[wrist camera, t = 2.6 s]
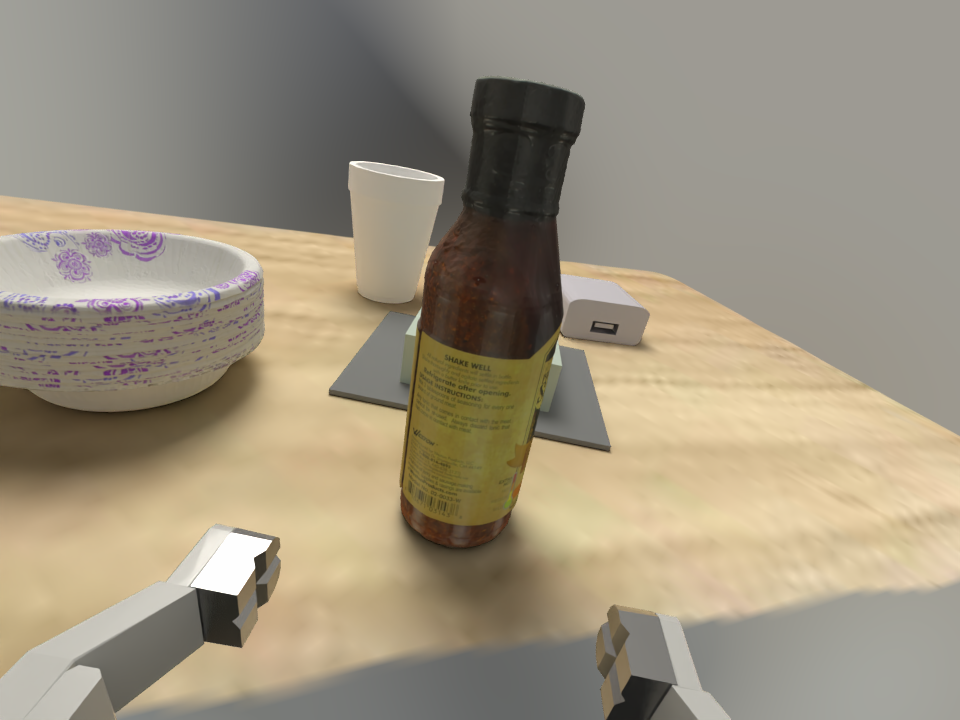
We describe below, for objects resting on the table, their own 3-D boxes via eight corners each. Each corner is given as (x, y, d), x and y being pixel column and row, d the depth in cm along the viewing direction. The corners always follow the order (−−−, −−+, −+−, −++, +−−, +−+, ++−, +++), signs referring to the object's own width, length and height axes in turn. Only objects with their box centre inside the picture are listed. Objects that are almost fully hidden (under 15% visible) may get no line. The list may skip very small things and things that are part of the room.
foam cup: (330, 297, 47) (335, 164, 42) (357, 273, 56) (364, 159, 50) (420, 315, 48) (437, 184, 42) (433, 288, 56) (449, 176, 50)
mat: (328, 393, 32) (329, 389, 32) (389, 314, 46) (390, 311, 46) (608, 450, 32) (610, 446, 32) (582, 353, 46) (583, 350, 46)
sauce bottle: (529, 544, 23) (672, 107, 14) (408, 566, 21) (491, 58, 12) (485, 460, 29) (569, 102, 20) (385, 469, 26) (430, 68, 17)
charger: (595, 301, 64) (637, 348, 51) (532, 292, 63) (559, 338, 50) (605, 268, 62) (652, 309, 49) (540, 258, 61) (571, 297, 48)
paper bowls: (166, 309, 39) (153, 214, 35) (312, 368, 35) (314, 266, 31) (-95, 381, 26) (-157, 240, 22) (91, 488, 22) (50, 337, 18)
